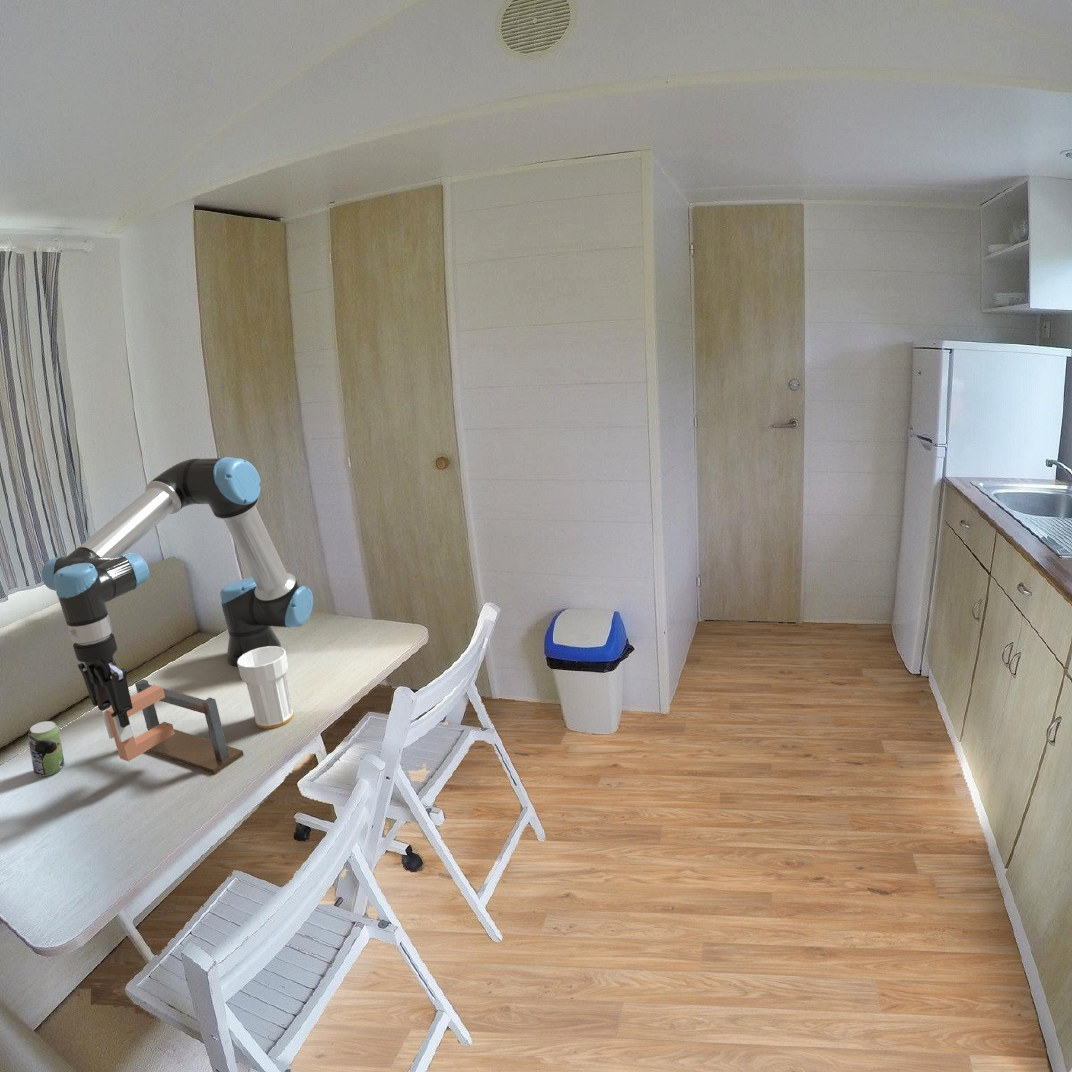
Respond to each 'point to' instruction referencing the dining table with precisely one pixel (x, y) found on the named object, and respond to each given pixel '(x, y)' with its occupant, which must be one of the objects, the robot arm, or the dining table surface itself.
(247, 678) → the cup
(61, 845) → the dining table surface
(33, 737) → the beverage can
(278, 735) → the dining table surface
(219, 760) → the stand
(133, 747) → the c link
